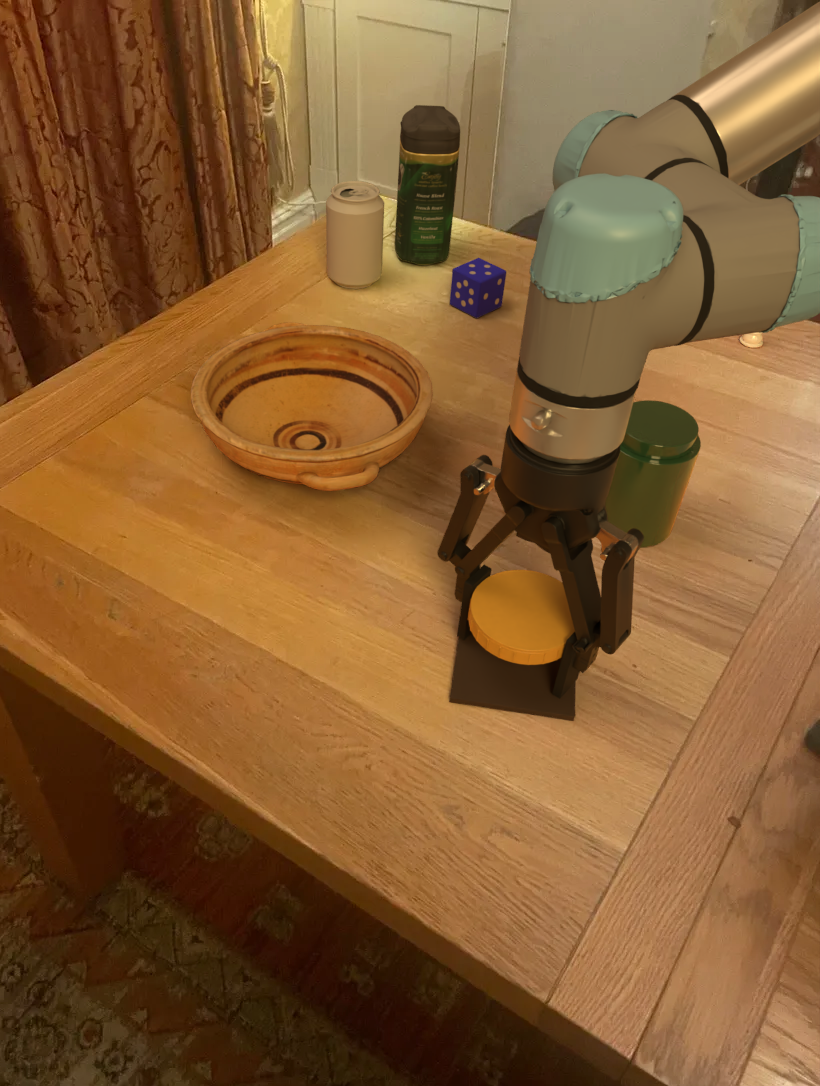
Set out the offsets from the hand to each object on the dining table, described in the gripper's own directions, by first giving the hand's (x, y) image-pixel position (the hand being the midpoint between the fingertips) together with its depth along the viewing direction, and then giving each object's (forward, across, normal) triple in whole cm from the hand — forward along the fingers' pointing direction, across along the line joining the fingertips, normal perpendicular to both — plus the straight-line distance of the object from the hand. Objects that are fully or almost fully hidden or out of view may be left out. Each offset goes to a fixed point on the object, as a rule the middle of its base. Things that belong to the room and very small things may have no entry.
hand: (515, 657), depth 76 cm
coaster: (+1, 0, 0) cm, 1 cm away
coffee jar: (+1, -53, +56) cm, 77 cm away
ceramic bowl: (+1, -33, +11) cm, 35 cm away
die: (+1, -38, +48) cm, 62 cm away
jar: (+1, -2, +23) cm, 23 cm away
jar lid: (-6, 0, 0) cm, 6 cm away
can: (+1, -55, +43) cm, 70 cm away
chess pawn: (+1, -7, +64) cm, 64 cm away
